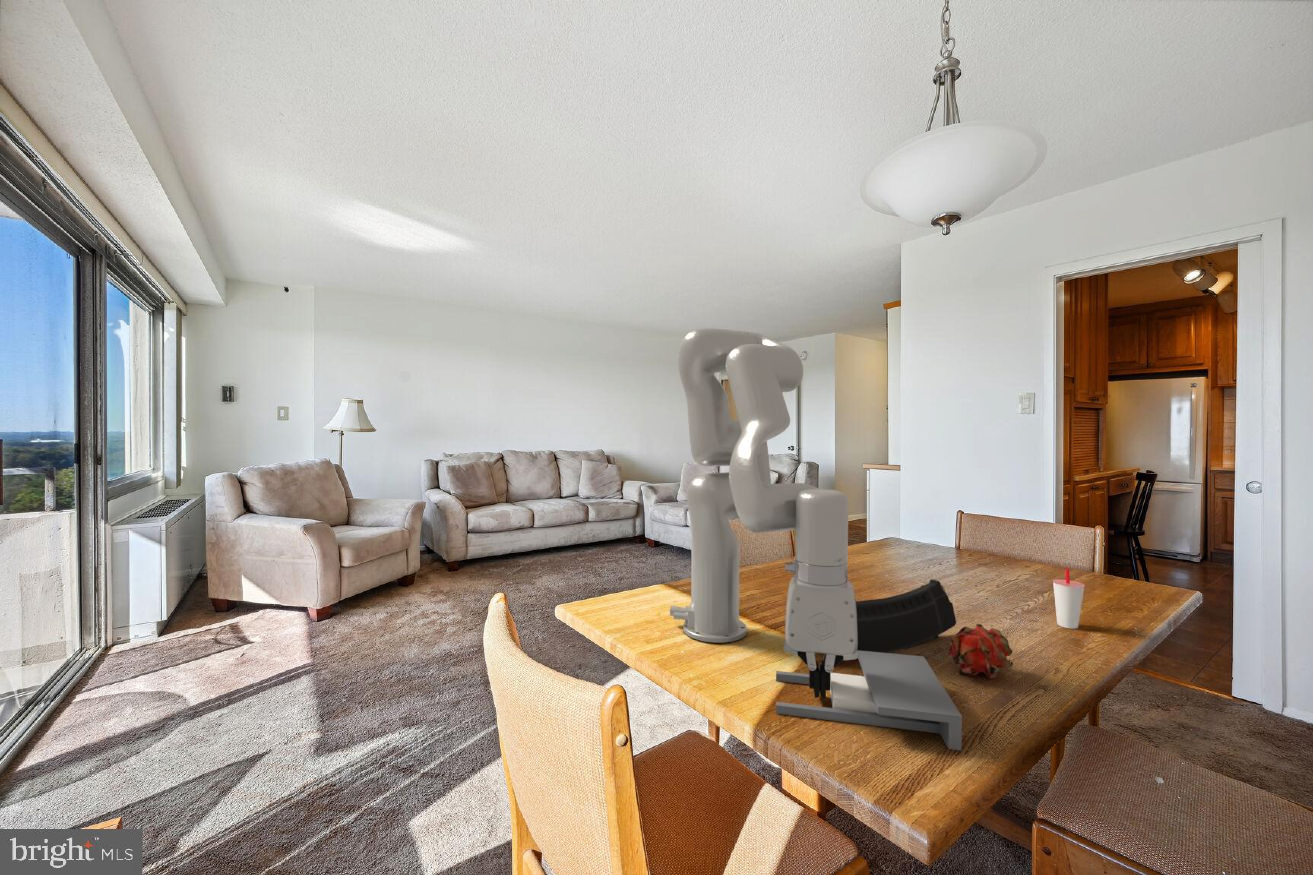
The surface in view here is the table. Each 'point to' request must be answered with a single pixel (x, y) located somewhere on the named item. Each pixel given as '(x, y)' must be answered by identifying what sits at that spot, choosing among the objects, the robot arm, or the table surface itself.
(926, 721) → the dock
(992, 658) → the dragon fruit
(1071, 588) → the cup
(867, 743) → the table surface
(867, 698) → the white rounded slab
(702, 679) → the table surface
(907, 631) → the magazine
